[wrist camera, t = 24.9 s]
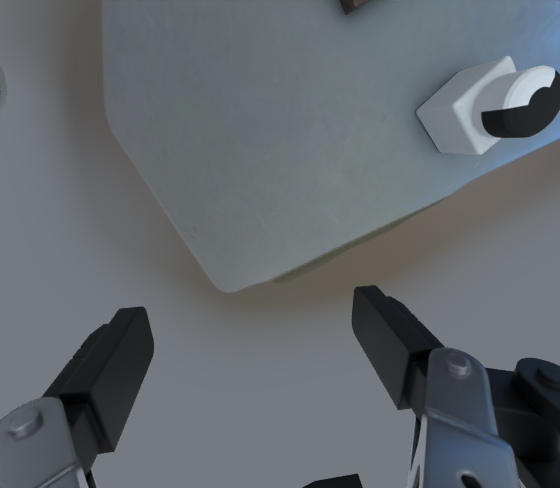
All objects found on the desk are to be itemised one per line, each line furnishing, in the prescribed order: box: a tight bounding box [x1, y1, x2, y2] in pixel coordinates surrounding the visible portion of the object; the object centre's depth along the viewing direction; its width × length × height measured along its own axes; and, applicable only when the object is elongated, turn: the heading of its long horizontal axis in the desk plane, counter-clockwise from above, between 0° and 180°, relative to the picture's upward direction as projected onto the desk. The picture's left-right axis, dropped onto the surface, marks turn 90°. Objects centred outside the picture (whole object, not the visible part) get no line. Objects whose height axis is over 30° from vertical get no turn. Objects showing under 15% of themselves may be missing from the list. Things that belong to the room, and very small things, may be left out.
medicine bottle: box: [416, 56, 560, 155], centre depth 30 cm, size 7×7×12 cm
